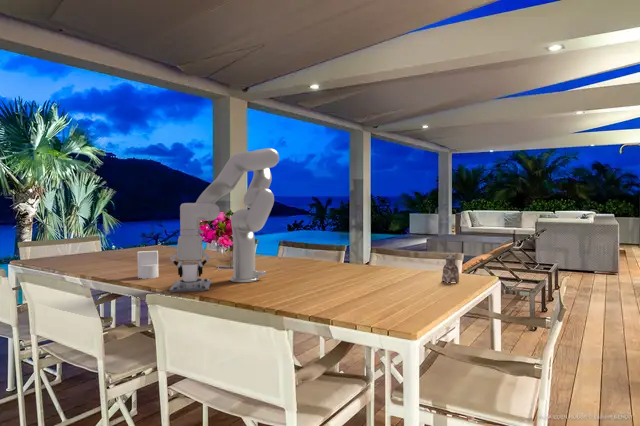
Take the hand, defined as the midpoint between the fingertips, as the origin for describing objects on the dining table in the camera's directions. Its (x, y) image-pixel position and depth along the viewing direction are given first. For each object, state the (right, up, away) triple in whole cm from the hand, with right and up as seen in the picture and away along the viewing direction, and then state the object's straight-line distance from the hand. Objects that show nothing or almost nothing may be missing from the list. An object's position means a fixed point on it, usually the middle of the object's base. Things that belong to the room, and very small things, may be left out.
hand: (190, 276), depth 184 cm
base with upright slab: (-27, -4, +25) cm, 37 cm away
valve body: (0, -5, +2) cm, 5 cm away
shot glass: (0, -2, 0) cm, 2 cm away
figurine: (+110, -4, +11) cm, 111 cm away
